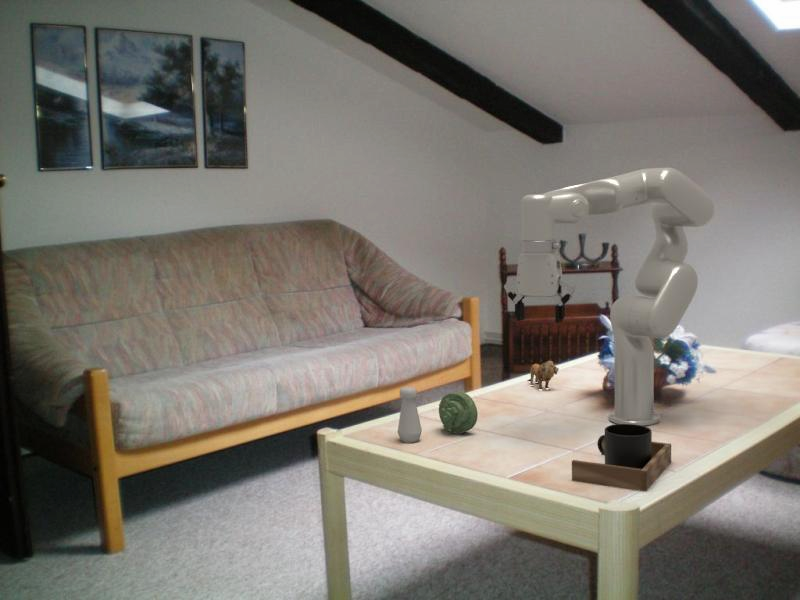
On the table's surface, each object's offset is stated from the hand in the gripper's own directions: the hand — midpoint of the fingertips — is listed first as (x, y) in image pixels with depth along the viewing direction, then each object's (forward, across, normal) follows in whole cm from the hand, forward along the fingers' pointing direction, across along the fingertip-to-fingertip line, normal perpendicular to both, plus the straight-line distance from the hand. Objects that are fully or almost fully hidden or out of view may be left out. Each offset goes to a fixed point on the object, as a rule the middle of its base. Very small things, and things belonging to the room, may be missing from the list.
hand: (539, 321), depth 203 cm
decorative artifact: (+28, +21, +5) cm, 36 cm away
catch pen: (+28, -24, +15) cm, 40 cm away
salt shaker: (+28, +28, +14) cm, 42 cm away
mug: (+28, -24, +15) cm, 40 cm away
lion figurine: (+29, +19, -49) cm, 60 cm away
